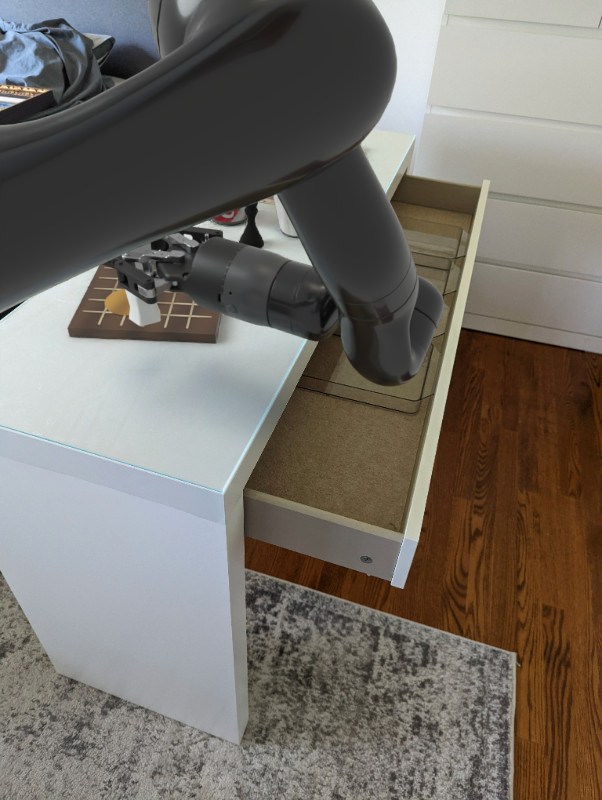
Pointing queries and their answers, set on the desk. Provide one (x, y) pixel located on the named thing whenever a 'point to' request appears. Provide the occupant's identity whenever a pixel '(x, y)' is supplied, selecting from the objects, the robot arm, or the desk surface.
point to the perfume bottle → (138, 308)
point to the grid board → (109, 318)
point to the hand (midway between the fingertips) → (116, 243)
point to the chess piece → (251, 228)
